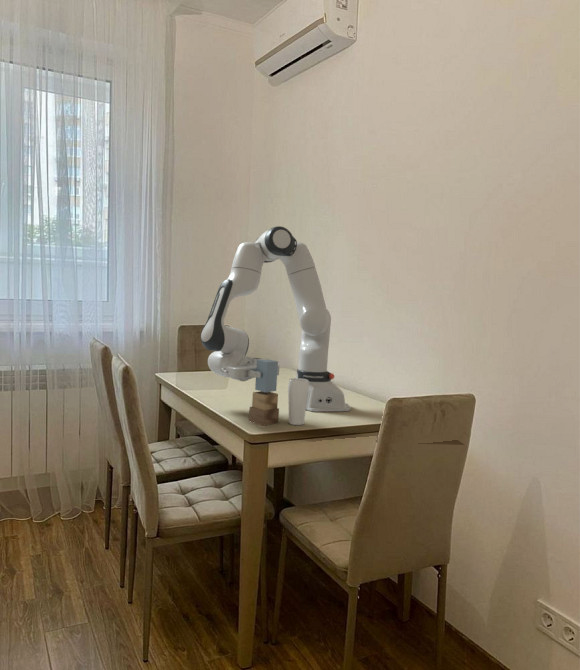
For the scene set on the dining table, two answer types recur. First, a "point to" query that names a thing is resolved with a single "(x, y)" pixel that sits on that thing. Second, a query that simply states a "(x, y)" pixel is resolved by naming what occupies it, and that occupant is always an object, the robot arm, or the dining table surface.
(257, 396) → the tower top
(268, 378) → the pillar
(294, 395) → the drinking glass
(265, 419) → the tower base
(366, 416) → the dining table surface
